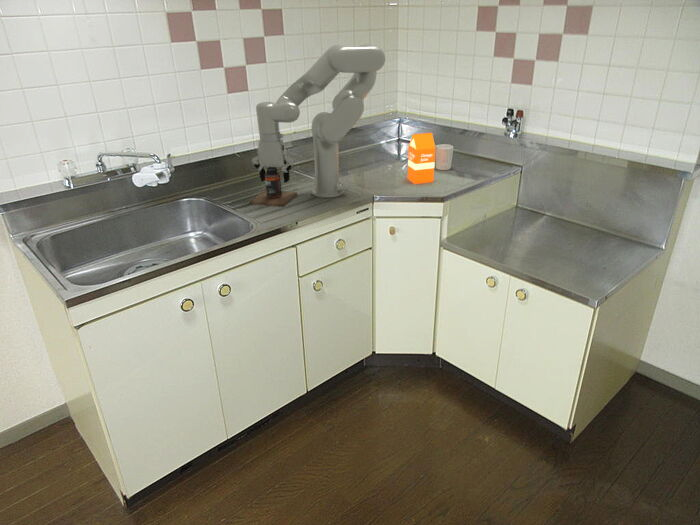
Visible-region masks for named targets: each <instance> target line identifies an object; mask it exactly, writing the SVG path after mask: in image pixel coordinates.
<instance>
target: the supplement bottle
mask: <svg viewBox="0 0 700 525" xmlns="http://www.w3.org/2000/svg"><path fill="white" fill-rule="evenodd" d="M265 173H266V174H265V180H264V183H265V189H266V194H267V197H268V198H273V199H274V198H279V197H281V196H282V191H283V190H282V183H281V182H282V180H281V174H280V173H279V172H278V168H273V167H266V172H265Z"/></svg>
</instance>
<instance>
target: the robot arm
mask: <svg viewBox="0 0 700 525" xmlns="http://www.w3.org/2000/svg"><path fill="white" fill-rule="evenodd" d="M385 63H386V55H385V52H384V50H383V49H382V48H381V47H379V46H377V45H372V44H370V43H369V44H367V43H365V44H360V45H359V46H354V47H353V46H344V45H338V44H337V45H336V44H334V45H332V46H331V47H328V49H327V50H326V51H325V52H324V53H323V54H322V55H321V56H320V57H319V58H318V59H317V61H316V62H314V64H313V65H312V66H311V67H310V68H309V69H308V70H307V71H306V72H304V74H303V75H302V76H301V77H299V78H298V79H297V80H295V82H293V83H292V84H290V86H289V87H287V89H286V90H284V92H283V93H282V94H281V95H280V96H279V97H278V98H277V100H276V102H273V101H263V102H259V103H258V104H257V105H256V108H255V110H256V117H257V118H256V119H257V126H258V135H259V141H258V146H257V147H258V148H257V149H258V151H257V153H258V155H257V156H255V157H254V158H252V159H251V160H250V161H251V162H252V164H253V166H254V168H256V169H257V171H258V173H259V178H260V182H265V174H266V173H267V172H266V168H269V167H273V168H277V169H279V168H281V170H282V171H283V172H282V174H283V175H282V176H283V182H284V184H285V183H288V182H289V181H290V179H291V178H290V171H291V169H293V167H294V164H295V160H294V159H293V158H290V157H289V156H288V155H287V150H286V147H285V143H284V140H283V138H284V134H283V133H281V131H280V125H279V123H294V122H295V121H296V122H297V120H298V119H299V118H300V113H301V111H300V107H299V106H300V105H301V104H302V103H303V102H304V101H306V100H307V99H308V98H310V97H311V96H314V95H316V94H319V93H321V92H324V90H325V89H326V88H327V87H328V86H329V84H330V83H331V82H332V81H333V80H334V79H335V78H337V76H338V75H339V74H340V73H343V74H344V73H345V74H352V76H351V77H350V79H349V80H348V82H347V83H346V84H345V85H344V86H343V87H342V88H341V90H340V91H339V92H337V94H336V95H335V96H334V98H333V100H332V103H331V104H332V105H331V106H332V109H333V110H332V111H331V112H327V111H323V112H318V113H317V114H316V115H315V116H314V117H313V119H312V122H311V133H312V140H313V154H314V156H313V158H314V180H315V183H314V185H315V187H313V188H312V190H311V194H312V195H313V197H314V196H315V197H317V198H322V199H330V198H337V197H340V196H342V195H343V194H344V192H349V191H350V186H349V185H348V184H342V180H340V168H339V167H340V164H339V163H340V162H339V159H340V158H339V157H340V156H339V151H340V150H339V142H340V141H341V140H342V139H343V138H344V137H345V136H346V135H347V134H348V133H349V132H350V130H351V129H352V128H353V127H355V125H356V124H357V123H358V122H359V121H360V119H361V118H362V115H363V114H364V110H365V105H364V100H365V99H366V97H367V96H368V94H370V92H371V91H372V89H373V87H374V86H375V83H376V80H377V72H379V70H381V69H382V68H383V67H384V65H385ZM258 162H259V163H258ZM288 163H289V164H288ZM287 164H288V165H287Z"/></svg>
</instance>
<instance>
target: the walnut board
mask: <svg viewBox="0 0 700 525" xmlns="http://www.w3.org/2000/svg"><path fill="white" fill-rule="evenodd" d="M281 191H282V196H281V197H279V198H274V199H273V198H268V197H267V194H266V188H265V189H264V190H263V191H261V192H260V193H258V194H257V195H256V196H254V197H253V198H252V199H250V200H249V204H253V205H262V206H273V207H280V208H281V207H282V208H283V207H285V206H286V205H288V204H289V203H290V202H291V201H292V200H293V199H294V198H296V197H297V196H298V191H287V190H286V191H285V190H281Z"/></svg>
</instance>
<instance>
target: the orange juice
mask: <svg viewBox="0 0 700 525" xmlns="http://www.w3.org/2000/svg"><path fill="white" fill-rule="evenodd" d="M407 154H408V156H407V158H408V160H407V178H406V180H409V181H410V182H411V183H413V184H414V185H417V184H419V185H420V184H428V183H433V182H434V177H435V176H434V175H435V166H436V145H435V141H434V136H433V132H425V133H413V135H412V137H411V138H410V142H409V144H408V153H407Z"/></svg>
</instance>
